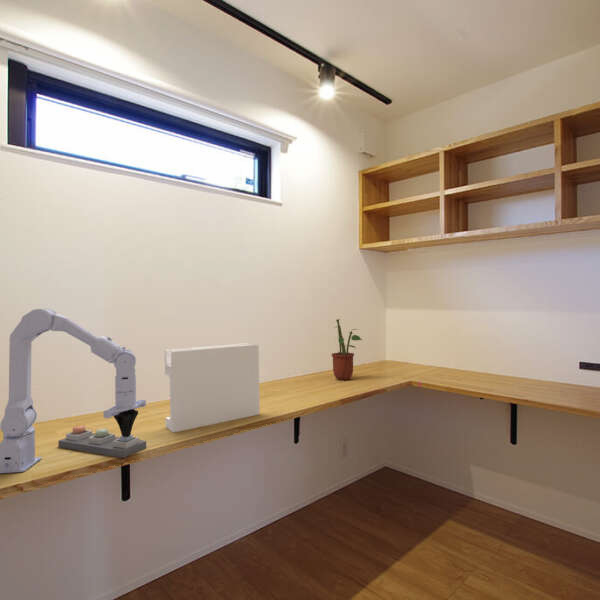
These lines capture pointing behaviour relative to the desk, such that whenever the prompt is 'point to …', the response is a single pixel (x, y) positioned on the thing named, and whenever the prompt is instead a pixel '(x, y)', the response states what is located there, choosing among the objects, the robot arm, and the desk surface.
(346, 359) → the potted plant
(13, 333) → the robot arm
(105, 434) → the sage button
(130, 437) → the slate button
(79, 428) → the terracotta button
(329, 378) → the desk surface
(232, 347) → the block
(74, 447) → the button panel
